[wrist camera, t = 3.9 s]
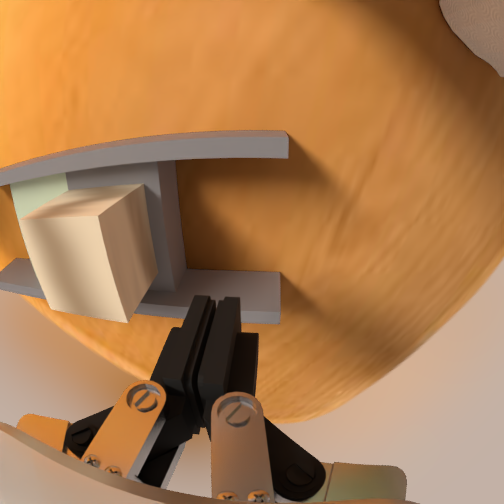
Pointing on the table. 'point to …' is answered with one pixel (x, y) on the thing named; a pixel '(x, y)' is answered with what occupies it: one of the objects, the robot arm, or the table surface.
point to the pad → (36, 193)
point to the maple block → (93, 250)
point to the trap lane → (161, 215)
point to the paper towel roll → (478, 27)
